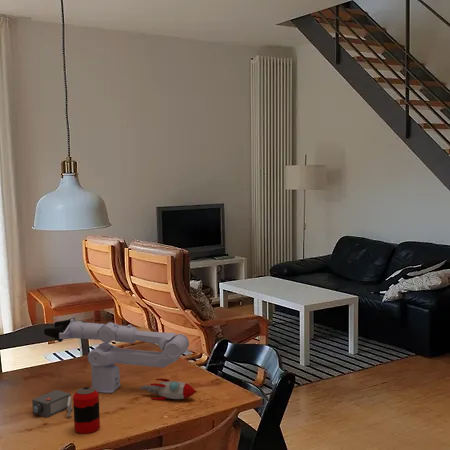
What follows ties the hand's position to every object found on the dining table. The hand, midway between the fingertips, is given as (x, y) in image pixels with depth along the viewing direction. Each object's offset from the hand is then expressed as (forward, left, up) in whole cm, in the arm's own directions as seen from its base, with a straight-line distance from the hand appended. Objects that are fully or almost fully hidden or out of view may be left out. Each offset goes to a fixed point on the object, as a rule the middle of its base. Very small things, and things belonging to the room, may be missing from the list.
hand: (49, 328), depth 224 cm
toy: (-45, +3, -22) cm, 50 cm away
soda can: (-29, +31, -21) cm, 48 cm away
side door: (-19, +21, -21) cm, 35 cm away
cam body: (-11, +20, -21) cm, 32 cm away
